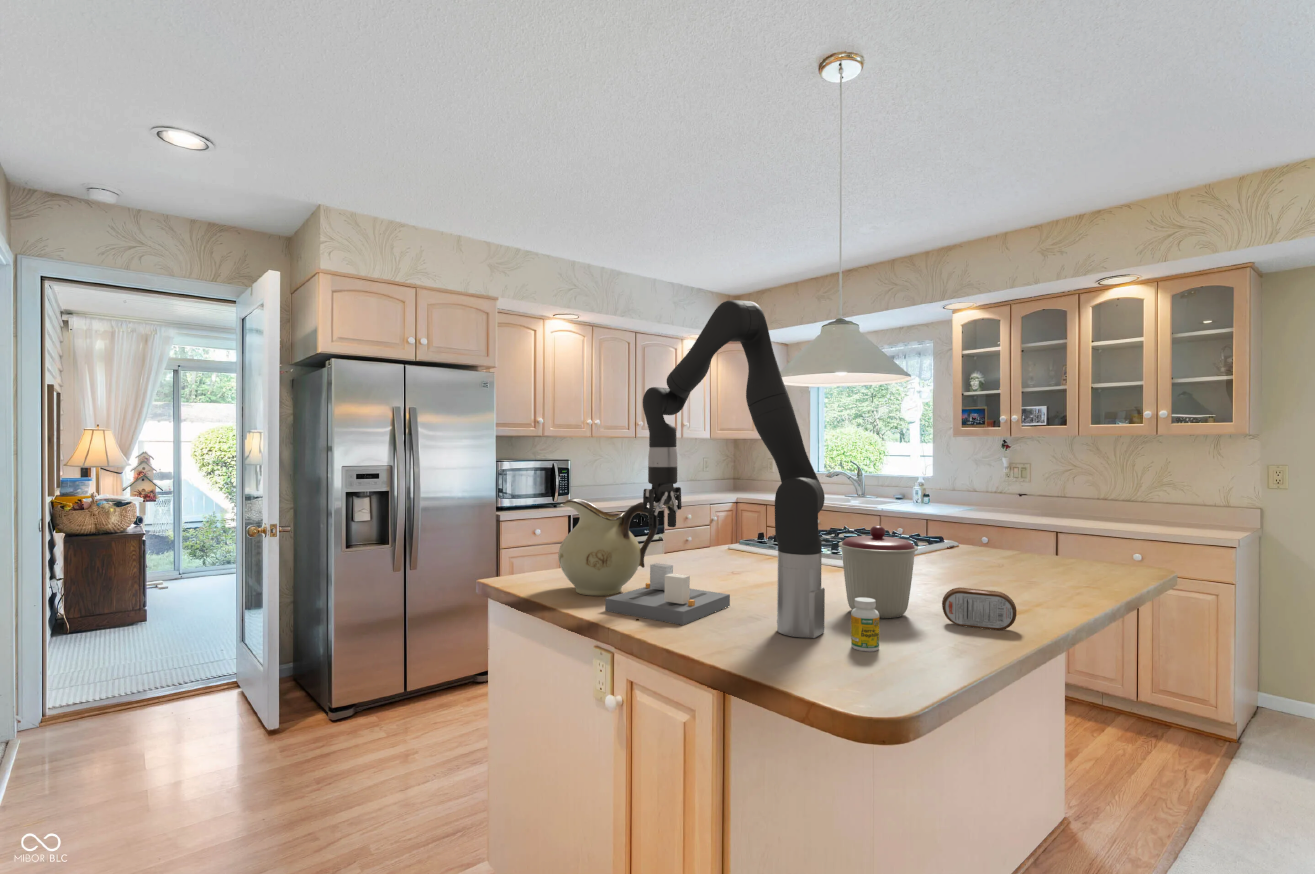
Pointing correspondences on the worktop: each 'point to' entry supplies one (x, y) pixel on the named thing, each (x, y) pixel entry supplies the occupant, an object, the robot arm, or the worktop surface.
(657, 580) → the light grey block
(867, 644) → the supplement bottle
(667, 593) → the block
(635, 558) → the pitcher
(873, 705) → the worktop surface
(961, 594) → the tin
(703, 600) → the grey slotted tray
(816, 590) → the robot arm
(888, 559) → the canister
